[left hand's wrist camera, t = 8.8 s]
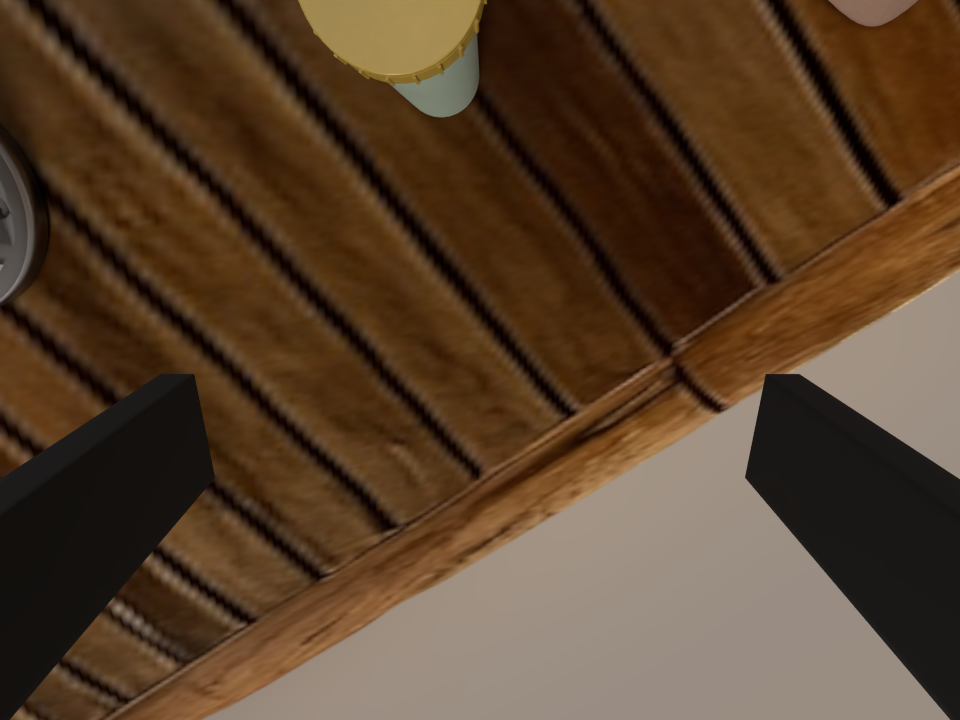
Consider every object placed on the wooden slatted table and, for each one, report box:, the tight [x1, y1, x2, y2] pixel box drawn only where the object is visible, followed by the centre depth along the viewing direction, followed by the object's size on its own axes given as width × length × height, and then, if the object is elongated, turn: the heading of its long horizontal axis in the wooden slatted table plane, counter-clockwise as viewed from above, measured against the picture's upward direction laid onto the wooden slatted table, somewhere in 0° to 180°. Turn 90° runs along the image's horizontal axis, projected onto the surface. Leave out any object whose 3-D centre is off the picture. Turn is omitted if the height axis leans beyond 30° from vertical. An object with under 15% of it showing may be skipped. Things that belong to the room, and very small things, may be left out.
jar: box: [393, 32, 479, 117], centre depth 24 cm, size 5×5×18 cm
